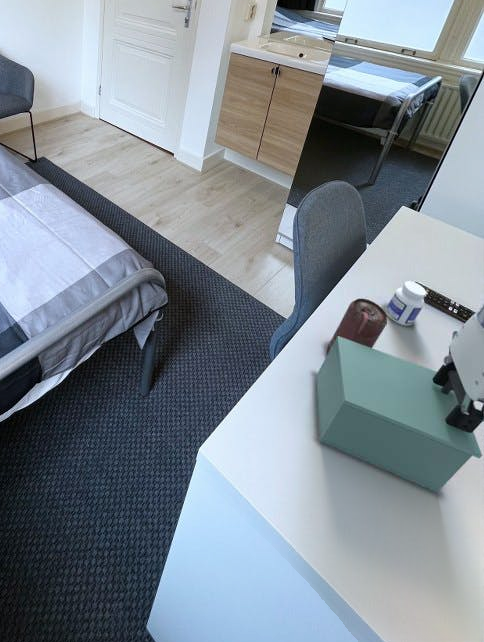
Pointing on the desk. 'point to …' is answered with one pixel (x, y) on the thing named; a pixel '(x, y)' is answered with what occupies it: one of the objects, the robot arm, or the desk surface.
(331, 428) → the teal lidded box
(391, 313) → the pill bottle
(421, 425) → the lid
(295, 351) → the desk surface
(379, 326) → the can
